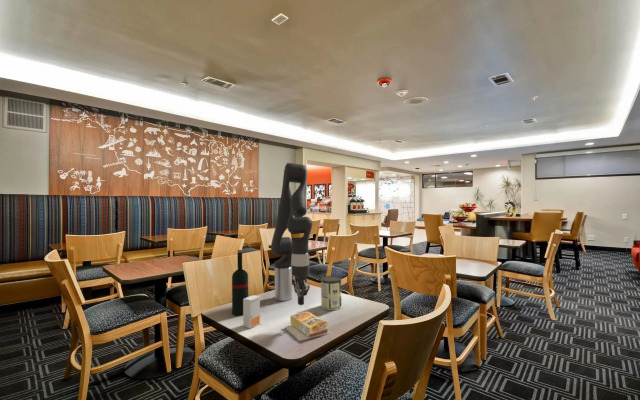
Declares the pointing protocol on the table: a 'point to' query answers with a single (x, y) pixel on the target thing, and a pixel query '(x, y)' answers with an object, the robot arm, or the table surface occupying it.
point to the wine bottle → (239, 287)
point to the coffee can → (331, 292)
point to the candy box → (309, 324)
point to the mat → (300, 333)
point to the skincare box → (251, 311)
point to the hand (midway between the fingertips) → (300, 304)
